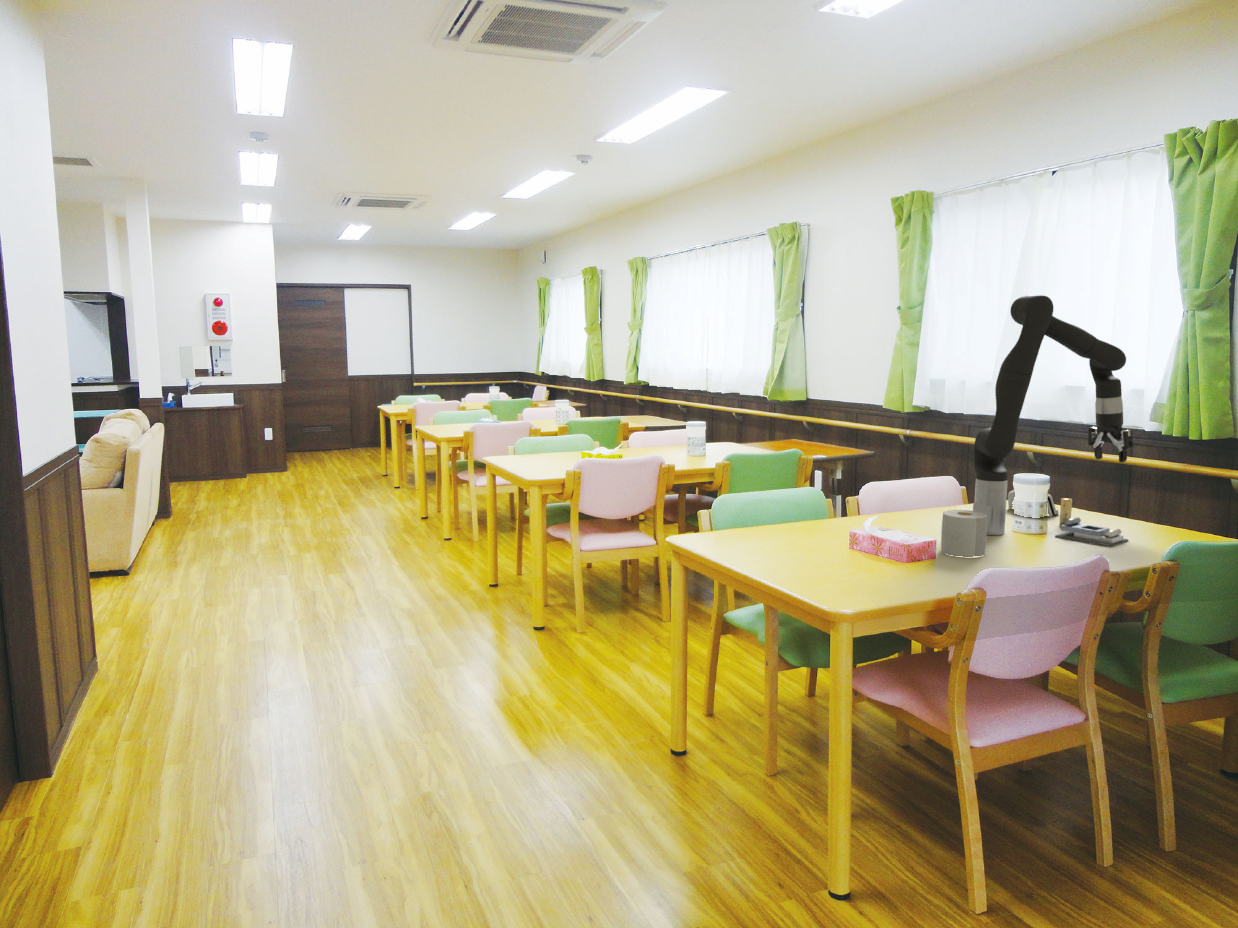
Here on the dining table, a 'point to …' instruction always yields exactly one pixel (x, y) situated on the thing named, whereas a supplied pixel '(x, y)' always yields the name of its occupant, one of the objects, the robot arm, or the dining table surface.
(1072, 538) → the rubber mat
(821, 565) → the dining table surface
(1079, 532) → the grey clamping fixture
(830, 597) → the dining table surface
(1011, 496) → the hinge
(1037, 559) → the dining table surface
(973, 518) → the toilet paper roll
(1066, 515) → the brass pin
